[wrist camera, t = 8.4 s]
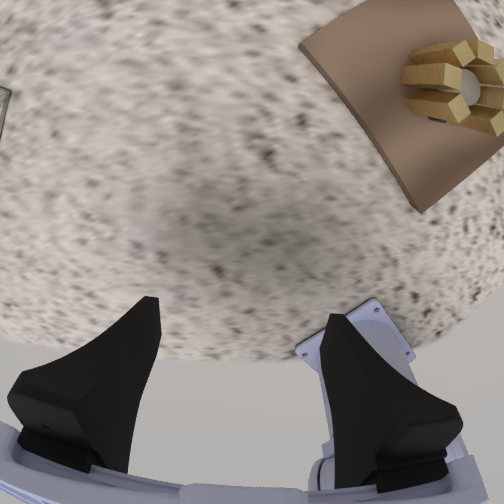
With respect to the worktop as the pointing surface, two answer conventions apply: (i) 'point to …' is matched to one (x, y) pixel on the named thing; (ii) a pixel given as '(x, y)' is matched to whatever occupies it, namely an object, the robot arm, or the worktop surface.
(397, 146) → the post base
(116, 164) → the worktop surface
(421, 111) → the wooden block ring
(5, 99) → the packaged product
